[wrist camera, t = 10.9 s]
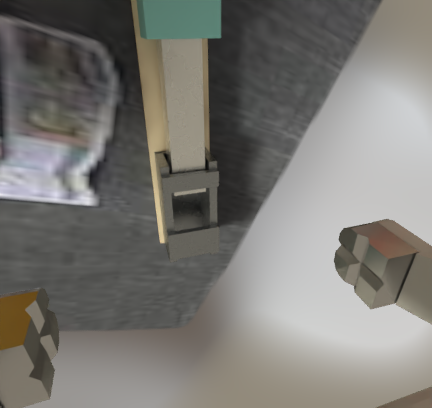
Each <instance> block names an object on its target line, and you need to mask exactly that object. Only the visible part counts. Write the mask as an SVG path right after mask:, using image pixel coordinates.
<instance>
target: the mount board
mask: <svg viewBox="0 0 432 408" xmlns="http://www.w3.org/2000/svg"><path fill="white" fill-rule="evenodd" d="M131 5H132V14H133V22H134V30H135V39H136V47H137V55H138V64H139V72H140V80H141V89H142V97H143V105H144V113H145V122H146V130H147V138H148V147H149V155H150V163H151V172H152V180H153V188H154V197H155V205H156V213H157V222H158V230H159V238H160V243H165V241H164V234H163V225H162V216H161V207H160V198H159V189H158V180H157V172H156V163H155V154H154V152H161V151H166V143H165V132H164V121H163V110H162V99H161V88H160V77H159V66H158V55H157V44H156V39H144V38H141V36H140V28H139V19H138V10H137V1H136V0H131ZM202 63H203V101H204V140H205V147H206V148H207V149H208V151H209V152H210V145H209V89H208V38H202Z"/></svg>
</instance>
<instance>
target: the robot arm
mask: <svg viewBox="0 0 432 408" xmlns="http://www.w3.org/2000/svg"><path fill="white" fill-rule="evenodd" d="M339 241H340V243H341V246H340V247H339V248H338V250H337V251H336V253H335V258H334V263H335V267H336V270H337V272H338V274H339V276H340V277H341V278H342V279H343V280H344V281H345V282H347V283H349V284H351V285H353V286H354V289H355V293H356V294H357V295H358V296H359V297H360V298H361V299H362V301H364V303H365V304H366V305H367V306H368V307H369V308H370V309H374V308H378V307H382V306H386V305H390V304H394V303H396V305H398V306H399V307H401V308H403V309H405V310H407V311H408V312H410V313H412V314H414V315H416V316H418V317H419V318H421V319H423V320H425V321H427V322H428V323H430V324H432V246H431V245H429V244H427V243H426V242H425V241H423V240H422V239H420V238H419V237H417V236H416V235H414V234H413V233H411V232H410V231H408V230H407V229H405V228H404V227H402V226H401V225H399V224H398V223H396V222H395V221H393V220H389V219H385V220H380V221H376V222H372V223H368V224H363V225H359V226H353V227H348V228H344V229H343V230H342V231H341V233H340V236H339ZM48 303H49V298H48V295H47V293H46V291H45V289H43V288H36V289H30V290H25V291H19V292H13V293H8V294H2V295H0V408H22V407H25V406H29V405H32V404H35V403H38V402H42V401H45V400H48V399H50V396H51V389H52V384H53V378H54V371H55V370H54V367H53V365H52V363H51V360H52V359H53V357H54V356H55V355H56V354H57V353H58V346H59V327H58V322H57V318H56V316H55V313H54V312H52V311H50V310H48V309H47V308H48ZM376 408H432V387H429V388H427V389H424V390H421V391H418V392H416V393H413V394H410V395H408V396H405V397H403V398H400V399H397V400H395V401H392V402H389V403H387V404H384V405H381V406H379V407H376Z"/></svg>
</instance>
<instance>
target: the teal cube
mask: <svg viewBox="0 0 432 408" xmlns="http://www.w3.org/2000/svg"><path fill="white" fill-rule="evenodd" d="M136 1H137V10H138V19H139V28H140V36H141V38H144V39H200V38H221V0H136Z"/></svg>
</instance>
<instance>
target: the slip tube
mask: <svg viewBox="0 0 432 408" xmlns="http://www.w3.org/2000/svg"><path fill="white" fill-rule="evenodd" d="M156 44H157V55H158V66H159V77H160V88H161V99H162V110H163V121H164V132H165V143H166V154H167V164H168V166H169V174H170V175H172V174H180V173H187V172H195V171H203V170H205V140H204V101H203V63H202V38H200V39H156ZM199 192H206V188H204V189H197V190H189V191H182V192H175V193H173V194H174V196H178V195H185V194H192V193H199Z"/></svg>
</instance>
